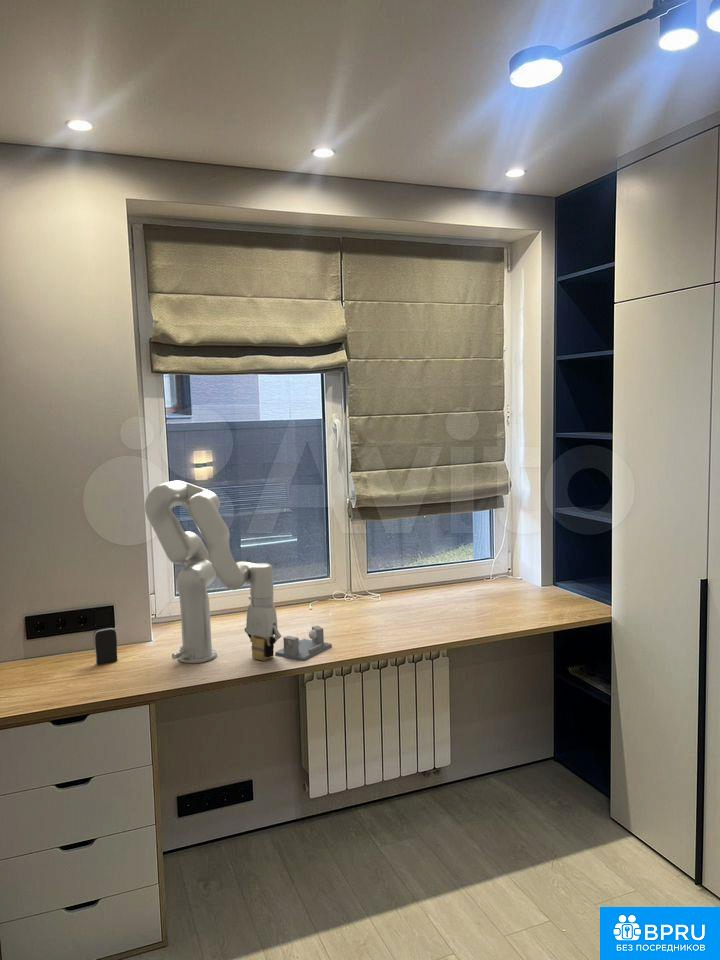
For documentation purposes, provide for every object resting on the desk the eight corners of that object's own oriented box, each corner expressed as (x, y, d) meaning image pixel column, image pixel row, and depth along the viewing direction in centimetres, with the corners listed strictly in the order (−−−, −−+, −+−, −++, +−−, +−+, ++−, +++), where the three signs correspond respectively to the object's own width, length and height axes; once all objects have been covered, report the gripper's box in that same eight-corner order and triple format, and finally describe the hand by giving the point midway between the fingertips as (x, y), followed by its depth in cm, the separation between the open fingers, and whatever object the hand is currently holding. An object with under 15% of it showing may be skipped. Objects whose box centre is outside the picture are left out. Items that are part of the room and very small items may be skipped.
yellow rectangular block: (263, 660, 232) (263, 640, 231) (251, 658, 234) (251, 637, 234) (274, 656, 236) (273, 635, 235) (261, 653, 239) (261, 633, 238)
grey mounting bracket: (303, 660, 231) (303, 641, 231) (275, 655, 238) (274, 636, 237) (332, 646, 245) (331, 627, 245) (304, 641, 252) (304, 623, 251)
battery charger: (115, 658, 239) (113, 625, 238) (118, 661, 236) (116, 628, 235) (94, 663, 235) (91, 629, 234) (96, 666, 232) (94, 632, 231)
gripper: (234, 600, 235) (235, 653, 236) (275, 607, 226) (275, 662, 227) (249, 595, 241) (250, 647, 243) (289, 602, 232) (290, 656, 234)
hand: (262, 654), depth 235 cm, fingers closed on yellow rectangular block, 5 cm apart
